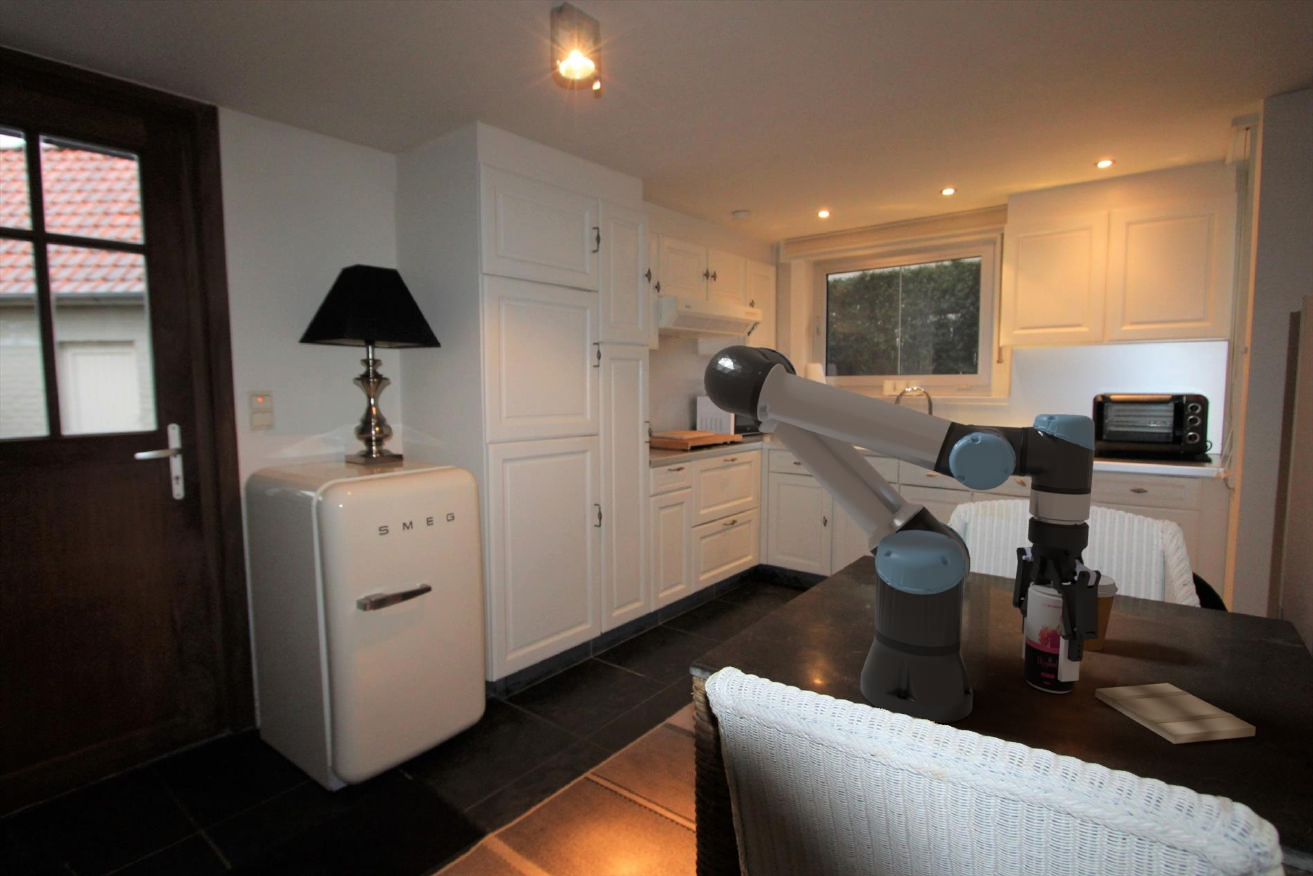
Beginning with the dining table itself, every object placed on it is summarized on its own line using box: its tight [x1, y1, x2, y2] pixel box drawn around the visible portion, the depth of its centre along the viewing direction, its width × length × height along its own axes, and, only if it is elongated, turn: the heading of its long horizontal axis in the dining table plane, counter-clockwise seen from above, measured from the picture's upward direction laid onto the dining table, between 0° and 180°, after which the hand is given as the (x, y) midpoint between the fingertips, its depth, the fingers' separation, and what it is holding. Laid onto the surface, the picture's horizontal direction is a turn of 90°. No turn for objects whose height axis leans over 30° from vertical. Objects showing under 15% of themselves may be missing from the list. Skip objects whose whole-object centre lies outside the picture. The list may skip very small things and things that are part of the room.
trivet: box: [1094, 682, 1256, 744], centre depth 86 cm, size 12×12×1 cm
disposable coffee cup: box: [1062, 573, 1119, 652], centre depth 109 cm, size 10×10×12 cm
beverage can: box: [1023, 582, 1076, 694], centre depth 94 cm, size 7×6×15 cm
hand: (1049, 668), depth 94 cm, fingers closed on beverage can, 6 cm apart
